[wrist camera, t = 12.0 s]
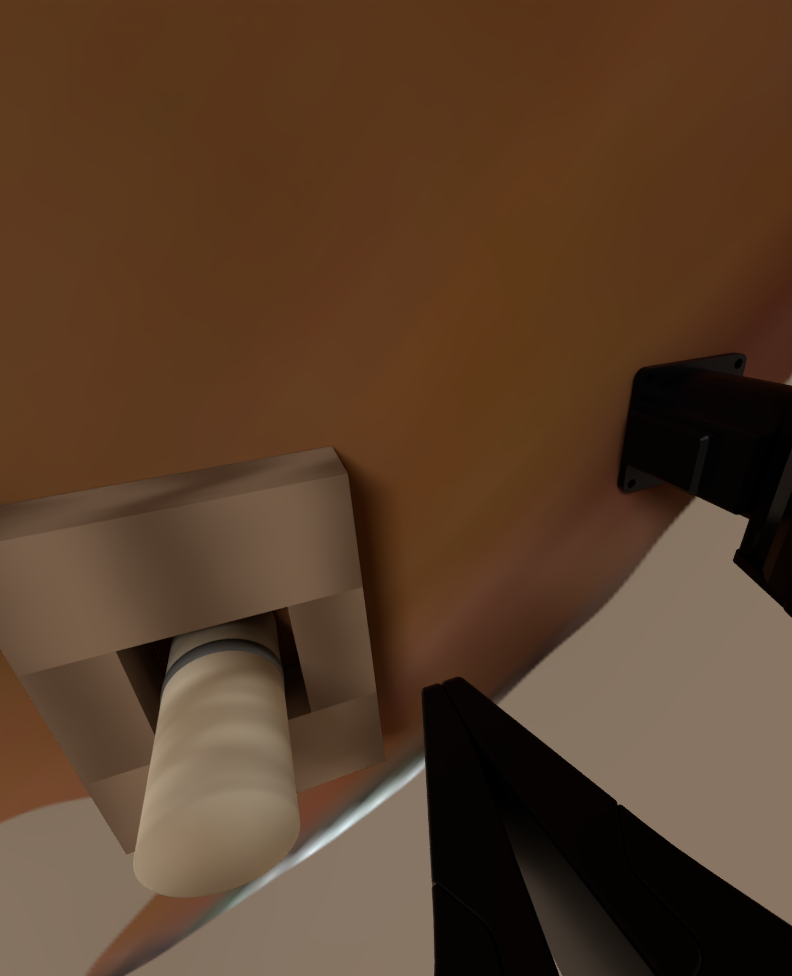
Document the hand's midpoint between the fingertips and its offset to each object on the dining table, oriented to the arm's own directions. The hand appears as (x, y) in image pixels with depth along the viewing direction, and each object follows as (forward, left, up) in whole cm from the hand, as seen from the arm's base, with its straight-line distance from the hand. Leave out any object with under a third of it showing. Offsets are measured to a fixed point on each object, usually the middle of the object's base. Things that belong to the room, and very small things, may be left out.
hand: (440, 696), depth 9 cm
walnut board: (+6, +7, -12) cm, 15 cm away
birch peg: (+6, +7, -12) cm, 15 cm away
